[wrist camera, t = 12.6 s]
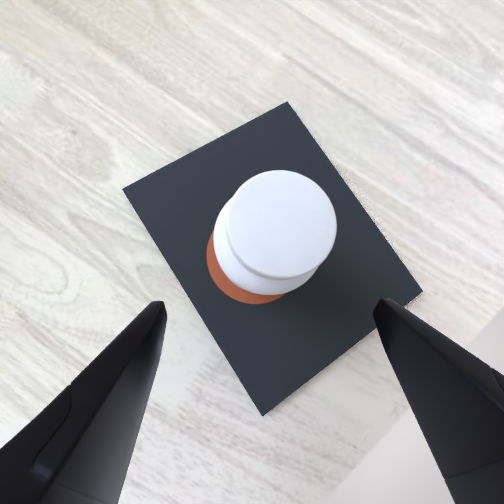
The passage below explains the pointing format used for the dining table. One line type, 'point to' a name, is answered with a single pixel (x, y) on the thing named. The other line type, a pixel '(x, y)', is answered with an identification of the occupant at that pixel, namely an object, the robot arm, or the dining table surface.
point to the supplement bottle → (274, 232)
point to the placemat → (281, 305)
